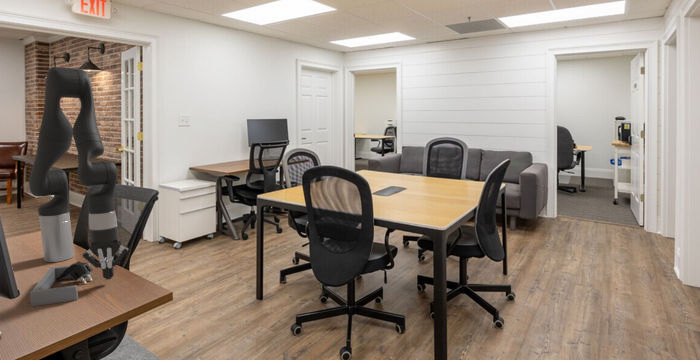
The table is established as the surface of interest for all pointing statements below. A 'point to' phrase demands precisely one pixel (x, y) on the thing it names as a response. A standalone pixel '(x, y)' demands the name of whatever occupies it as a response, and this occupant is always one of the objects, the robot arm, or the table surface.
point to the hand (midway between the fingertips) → (108, 278)
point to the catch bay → (53, 295)
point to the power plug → (77, 271)
